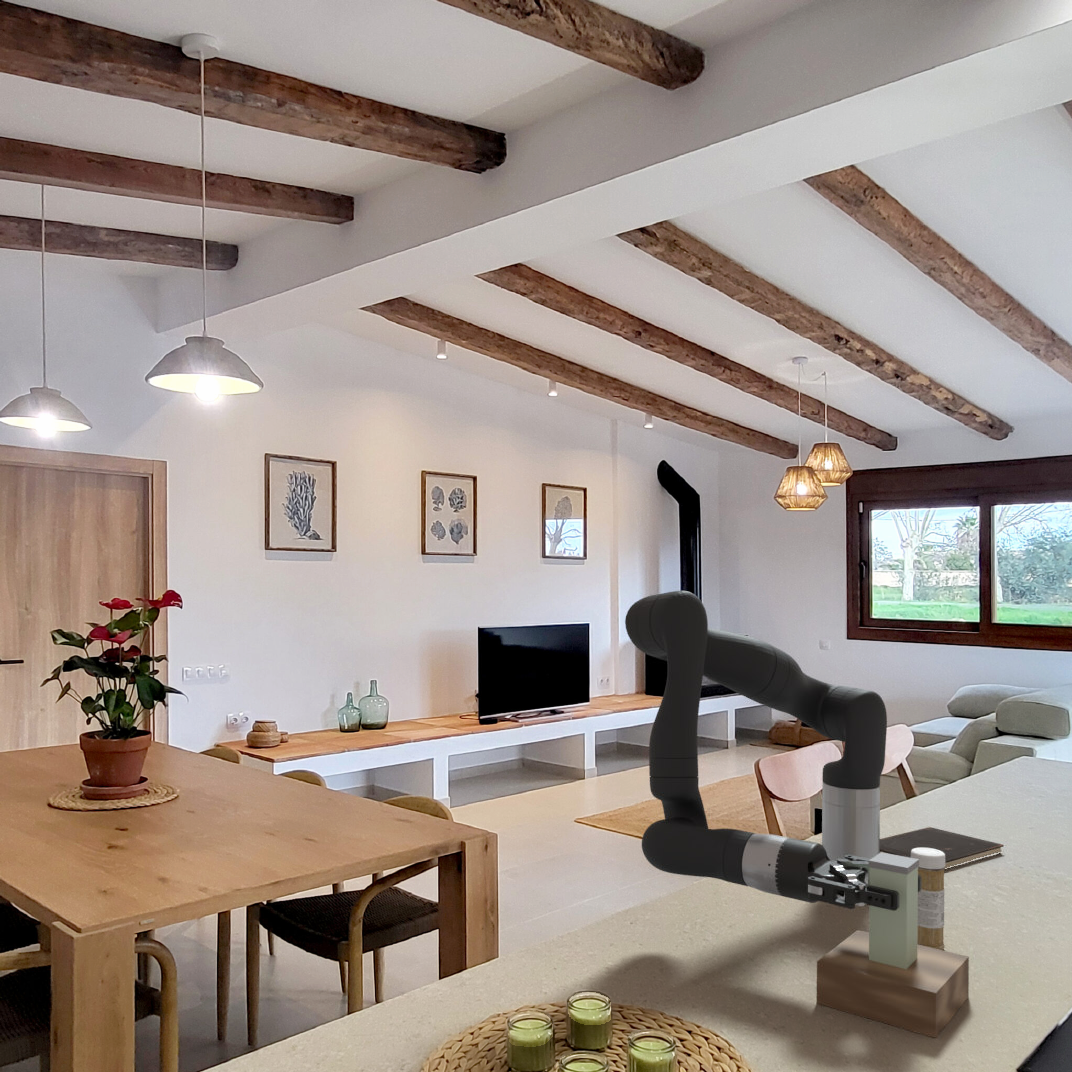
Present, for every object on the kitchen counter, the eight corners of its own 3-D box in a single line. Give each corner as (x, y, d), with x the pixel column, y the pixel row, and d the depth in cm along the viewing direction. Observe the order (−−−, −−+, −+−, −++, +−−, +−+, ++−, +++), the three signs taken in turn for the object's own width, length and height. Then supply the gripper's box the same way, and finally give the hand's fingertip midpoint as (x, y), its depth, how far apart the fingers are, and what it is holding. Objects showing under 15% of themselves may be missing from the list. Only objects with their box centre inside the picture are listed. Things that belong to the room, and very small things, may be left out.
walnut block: (857, 968, 132) (857, 930, 132) (968, 997, 124) (968, 956, 124) (816, 1003, 121) (816, 961, 121) (935, 1037, 113) (936, 993, 113)
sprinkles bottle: (917, 938, 144) (918, 844, 144) (949, 947, 140) (950, 851, 141) (904, 946, 140) (905, 850, 141) (937, 956, 137) (937, 857, 138)
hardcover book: (1003, 856, 189) (1003, 844, 189) (934, 877, 175) (934, 864, 175) (926, 837, 201) (926, 826, 202) (857, 855, 188) (857, 843, 188)
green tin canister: (880, 948, 126) (880, 852, 126) (918, 957, 123) (919, 859, 124) (867, 960, 122) (868, 860, 123) (907, 969, 119) (907, 867, 120)
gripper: (761, 849, 126) (891, 875, 116) (806, 827, 137) (927, 849, 128) (761, 909, 126) (890, 940, 116) (805, 882, 137) (927, 908, 127)
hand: (909, 892), depth 122 cm, fingers open, 8 cm apart
